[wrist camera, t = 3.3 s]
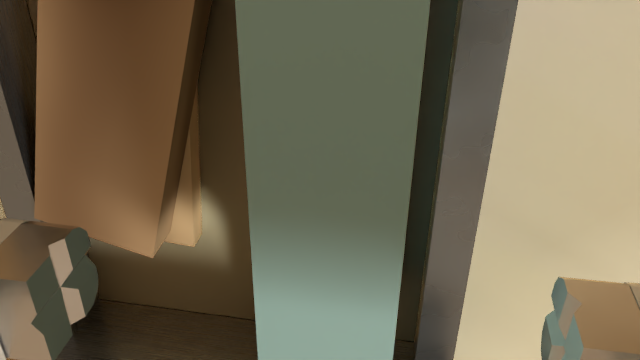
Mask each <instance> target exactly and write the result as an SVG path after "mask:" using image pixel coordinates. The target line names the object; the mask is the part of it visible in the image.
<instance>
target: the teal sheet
mask: <svg viewBox="0 0 640 360" xmlns="http://www.w3.org/2000/svg"><path fill="white" fill-rule="evenodd" d="M235 10H236V25H237V41H238V56H239V72H240V88H241V103H242V119H243V134H244V150H245V165H246V181H247V196H248V212H249V228H250V243H251V259H252V274H253V290H254V305H255V321H256V336H257V352H258V360H393V353H394V343H395V333H396V324H397V314H398V305H399V295H400V286H401V276H402V267H403V257H404V248H405V238H406V229H407V219H408V210H409V200H410V191H411V181H412V172H413V162H414V153H415V143H416V134H417V124H418V115H419V105H420V96H421V86H422V77H423V67H424V58H425V48H426V39H427V29H428V19H429V10H430V0H235Z"/></svg>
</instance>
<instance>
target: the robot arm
mask: <svg viewBox="0 0 640 360" xmlns="http://www.w3.org/2000/svg"><path fill="white" fill-rule="evenodd" d="M90 247H91V244H90V241H89V237H88V234H87V231H86V230H84V229H82V228H81V227H76V226H69V225H61V224H53V223H45V222H37V221H26V220H18V219H10V218H4V219H0V360H6V358H9V359H18V360H55V359H56V358H57V357H58V355H59V354H60V352H61V351H62V349H63V348H64V347H65V345H66V344H67V342H68V341H69V340H70V338H71V337H72V335H73V333H72V327H71V324H73V323H75V322H77V321H78V320H80V319H82V318H84V317H86V315H87V314H88V312H89V311H90V309H91V308H92V306H93V305H94V301H95V298H96V295H97V291H98V273H97V268H96V265H95V264H94V263H93V262H92V261H91V260H90V259H89V258H88V257H87V256H86V253H87V252H88V250H89V249H90ZM551 297H552V301H553V305H554V309H555V310H554V311H552V312H551V313H550V314H548V315H547V316H546V317H545V322H544V326H543V330H542V340H541V356H542V360H640V284H639V283H626V282H625V283H616V282H606V281H596V280H586V279H576V278H566V277H558V279H557V281H556V282H555V285H554V288H553V292H552V295H551Z"/></svg>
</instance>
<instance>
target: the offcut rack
mask: <svg viewBox="0 0 640 360" xmlns="http://www.w3.org/2000/svg"><path fill="white" fill-rule="evenodd" d="M517 5H518V0H458V8H457V16H456V23H455V31H454V39H453V47H452V54H451V62H450V70H449V77H448V85H447V93H446V101H445V108H444V116H443V124H442V132H441V139H440V147H439V155H438V162H437V170H436V178H435V186H434V193H433V201H432V209H431V217H430V224H429V232H428V240H427V248H426V255H425V263H424V271H423V278H422V286H421V294H420V302H419V309H418V317H417V325H416V333H415V340H414V342H407V341H400V340H395V343H394V353H393V360H453V358H454V352H455V347H456V341H457V336H458V330H459V325H460V319H461V314H462V308H463V303H464V297H465V292H466V286H467V281H468V275H469V269H470V264H471V258H472V253H473V247H474V242H475V236H476V231H477V225H478V220H479V214H480V209H481V203H482V198H483V192H484V187H485V181H486V176H487V170H488V165H489V159H490V154H491V148H492V143H493V137H494V131H495V126H496V120H497V115H498V109H499V104H500V98H501V93H502V87H503V82H504V76H505V71H506V65H507V60H508V54H509V49H510V43H511V38H512V32H513V27H514V21H515V16H516V10H517ZM36 76H37V44H36V40H35V36H34V32H33V27H32V23H31V19H30V15H29V11H28V7H27V3H26V0H0V198H1V201H2V205H3V208H4V211H5V214H6V217H7V218H10V219H18V220H26V221H37V222H44V221H41V220H38V219H35V218H34V211H35V143H36ZM45 223H47V222H45ZM86 256H87V257H88V258H89V256H88V252H87V253H86ZM71 327H72V333H73V335H72V337H71V338H70V340H69V341H68V342H67V344H66V345H65V347H64V348H63V349H62V351H61V352H60V354H59V355H58V357H57V358H56V359H55V360H258V352H257V336H256V321H253V320H246V319H239V318H231V317H224V316H217V315H209V314H202V313H195V312H187V311H180V310H173V309H165V308H158V307H151V306H143V305H136V304H129V303H121V302H114V301H107V300H99V296H98V292H97V295H96V298H95V301H94V305H93V306H92V308H91V309H90V311H89V312H88V314H87V315H86V317H84V318H82V319H80V320H78V321H77V322H75V323H73V324H71Z"/></svg>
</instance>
